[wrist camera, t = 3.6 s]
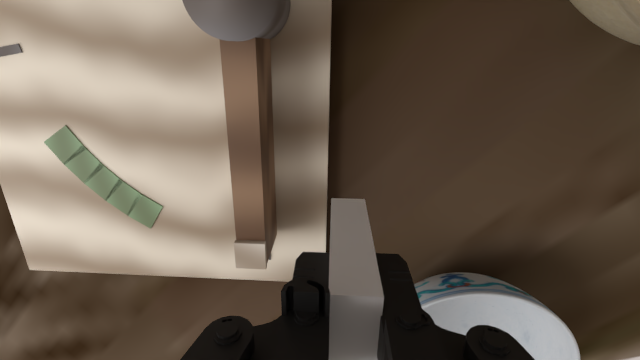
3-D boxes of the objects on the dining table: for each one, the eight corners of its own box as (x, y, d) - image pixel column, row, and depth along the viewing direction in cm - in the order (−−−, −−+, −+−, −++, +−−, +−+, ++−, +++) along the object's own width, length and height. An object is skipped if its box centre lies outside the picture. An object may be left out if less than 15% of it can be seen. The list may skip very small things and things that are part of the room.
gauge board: (-67, -80, 23) (-94, -89, 22) (333, -81, 22) (333, -90, 21) (42, 260, 33) (28, 270, 32) (325, 272, 32) (324, 283, 30)
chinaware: (332, 277, 32) (331, 344, 25) (490, 205, 29) (540, 258, 21) (404, 382, 36) (420, 465, 29) (548, 330, 33) (606, 410, 26)
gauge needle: (213, -42, 22) (173, -70, 16) (289, -41, 21) (273, -69, 16) (235, 232, 29) (212, 274, 23) (293, 235, 28) (283, 277, 23)
